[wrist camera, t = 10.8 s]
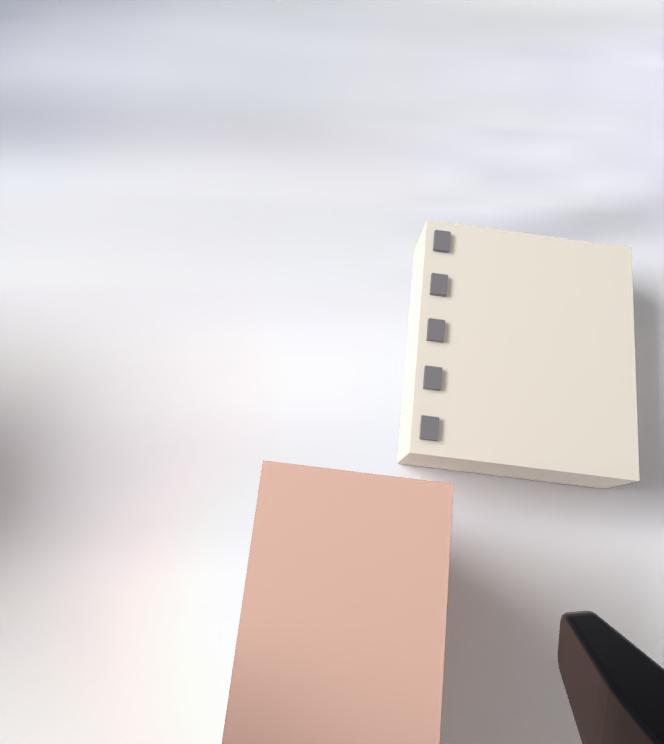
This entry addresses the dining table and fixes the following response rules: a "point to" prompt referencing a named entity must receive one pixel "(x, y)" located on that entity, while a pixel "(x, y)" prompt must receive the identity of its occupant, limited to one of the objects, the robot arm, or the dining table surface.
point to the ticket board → (520, 357)
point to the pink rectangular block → (342, 610)
